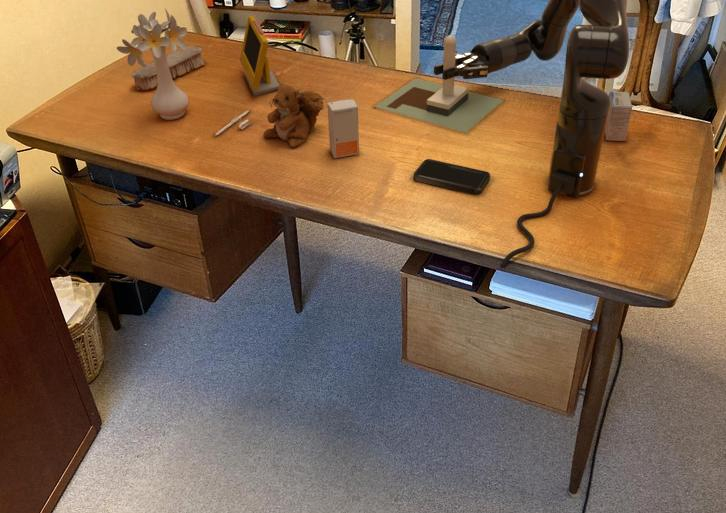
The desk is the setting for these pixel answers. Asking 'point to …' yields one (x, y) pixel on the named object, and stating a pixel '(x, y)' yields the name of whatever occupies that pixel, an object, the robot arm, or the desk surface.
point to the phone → (452, 176)
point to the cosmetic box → (343, 128)
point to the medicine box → (618, 116)
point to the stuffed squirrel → (293, 114)
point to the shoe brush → (177, 66)
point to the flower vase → (159, 61)
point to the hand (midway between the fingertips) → (439, 73)
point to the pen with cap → (241, 126)
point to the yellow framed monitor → (257, 60)
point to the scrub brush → (448, 85)
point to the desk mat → (415, 106)
